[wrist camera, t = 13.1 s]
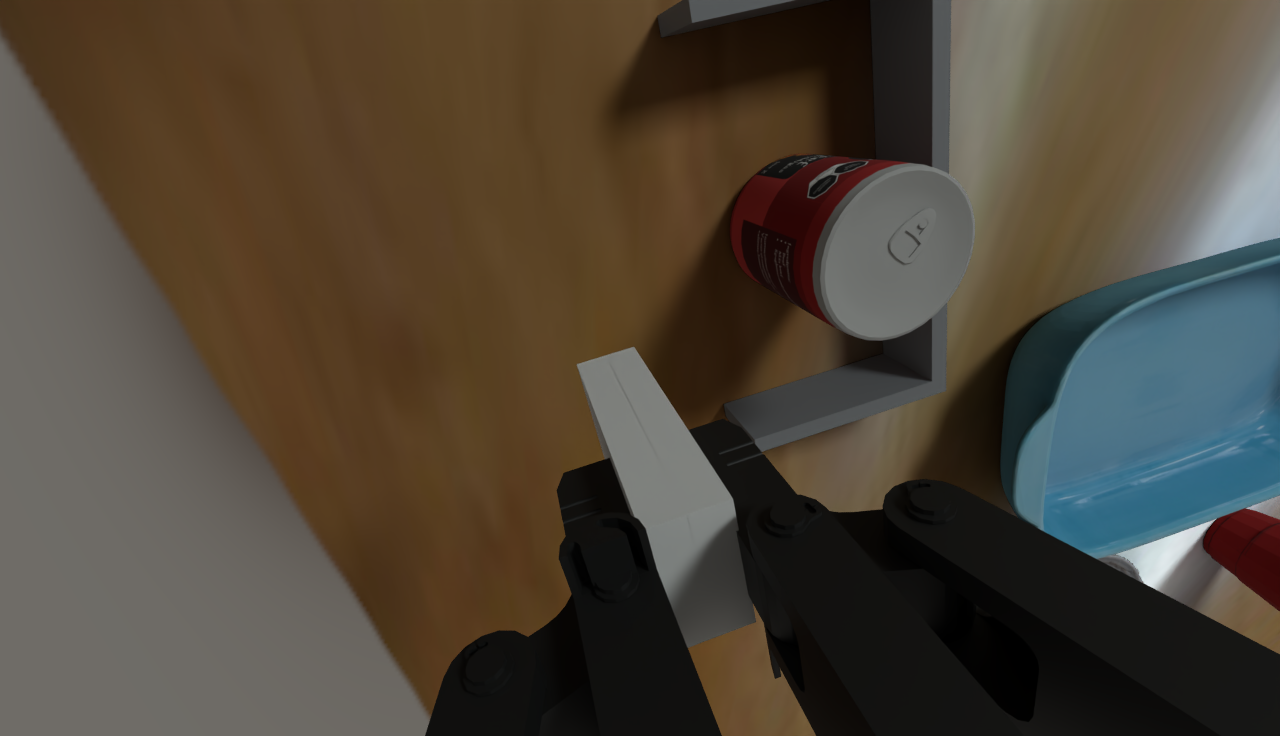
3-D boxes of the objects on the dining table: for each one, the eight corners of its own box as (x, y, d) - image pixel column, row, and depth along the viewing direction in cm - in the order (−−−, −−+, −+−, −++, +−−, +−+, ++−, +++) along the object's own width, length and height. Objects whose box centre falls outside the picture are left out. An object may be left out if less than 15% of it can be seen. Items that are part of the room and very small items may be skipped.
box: (657, 15, 30) (688, -4, 26) (885, -34, 32) (951, -60, 27) (725, 416, 40) (756, 453, 36) (896, 362, 42) (945, 390, 37)
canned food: (863, 177, 36) (1007, 197, 26) (809, 299, 38) (923, 360, 28) (757, 131, 33) (872, 134, 24) (706, 265, 36) (792, 319, 26)
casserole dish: (945, 543, 51) (1012, 603, 44) (953, 300, 41) (1039, 332, 35) (1287, 421, 56) (1391, 459, 50) (1362, 180, 47) (1502, 190, 40)
